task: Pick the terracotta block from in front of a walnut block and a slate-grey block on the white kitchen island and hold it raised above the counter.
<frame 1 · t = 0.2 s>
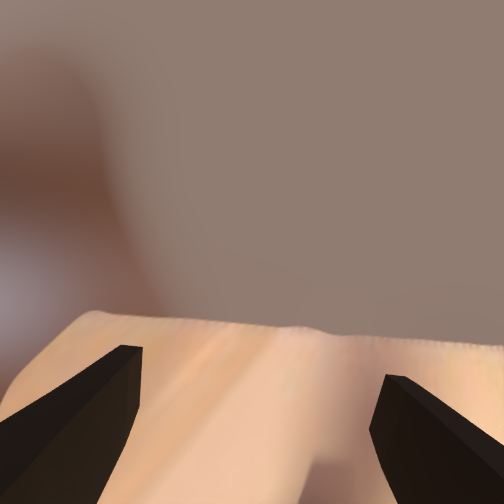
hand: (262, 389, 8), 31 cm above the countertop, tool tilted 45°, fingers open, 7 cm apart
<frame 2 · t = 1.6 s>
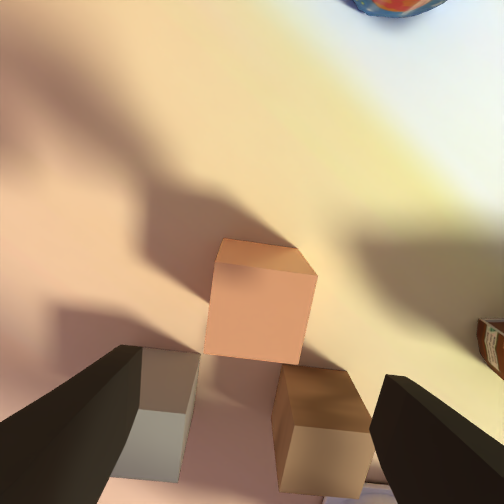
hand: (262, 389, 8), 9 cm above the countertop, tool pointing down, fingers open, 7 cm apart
walnut block: (308, 394, 20), on the countertop
slate block: (164, 378, 19), on the countertop
terracotta block: (255, 278, 18), on the countertop
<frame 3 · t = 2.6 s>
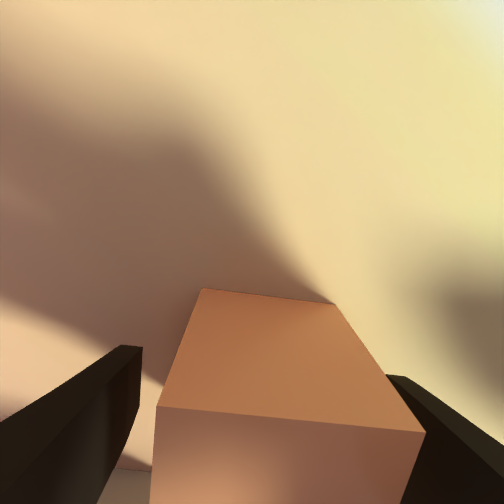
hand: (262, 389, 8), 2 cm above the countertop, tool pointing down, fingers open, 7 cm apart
terracotta block: (259, 354, 10), on the countertop
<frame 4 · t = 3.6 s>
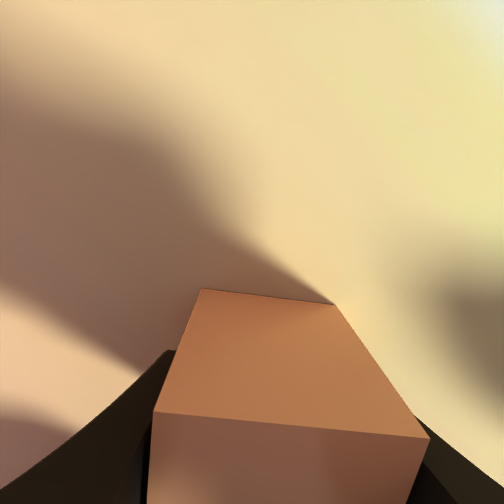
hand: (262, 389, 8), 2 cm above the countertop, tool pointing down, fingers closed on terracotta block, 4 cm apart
terracotta block: (259, 356, 10), on the countertop, touching gripper
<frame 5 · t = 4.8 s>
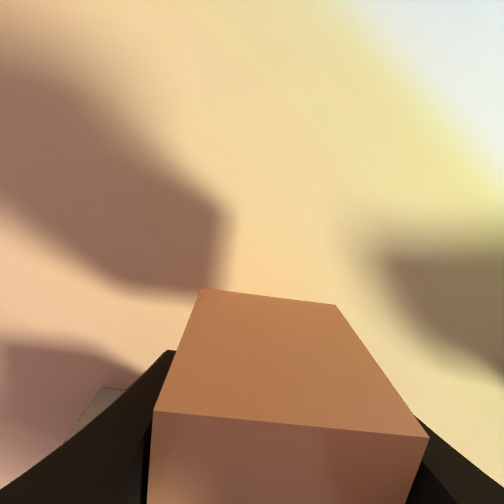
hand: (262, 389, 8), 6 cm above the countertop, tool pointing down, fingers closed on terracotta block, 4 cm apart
slate block: (143, 425, 16), on the countertop
terracotta block: (259, 355, 10), point 4 cm above the countertop, touching gripper
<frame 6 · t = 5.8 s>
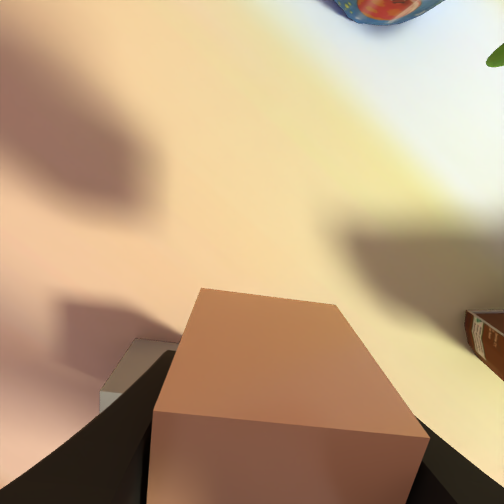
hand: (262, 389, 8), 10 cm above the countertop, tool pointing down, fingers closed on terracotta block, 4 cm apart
slate block: (166, 369, 20), on the countertop
terracotta block: (259, 355, 10), point 9 cm above the countertop, touching gripper
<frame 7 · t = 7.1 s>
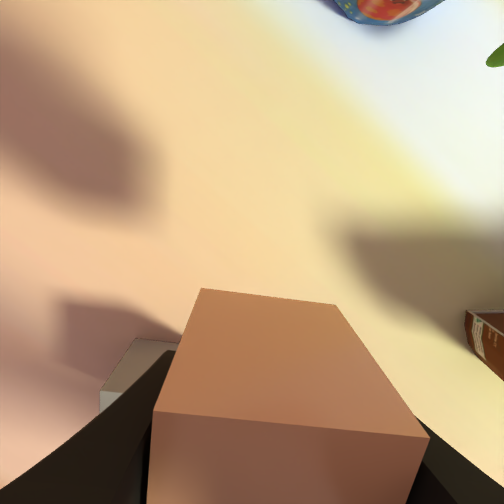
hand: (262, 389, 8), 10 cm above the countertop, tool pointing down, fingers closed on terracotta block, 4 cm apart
slate block: (166, 369, 20), on the countertop
terracotta block: (259, 355, 10), point 9 cm above the countertop, touching gripper
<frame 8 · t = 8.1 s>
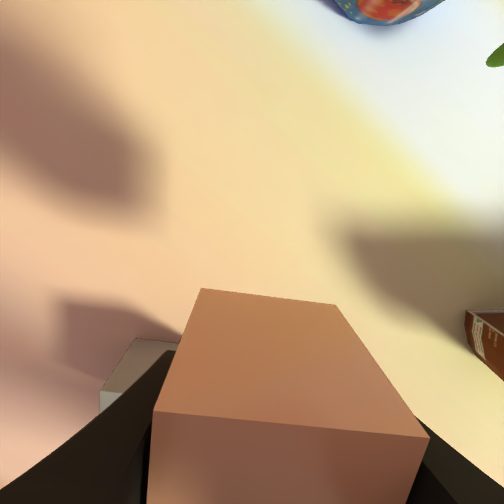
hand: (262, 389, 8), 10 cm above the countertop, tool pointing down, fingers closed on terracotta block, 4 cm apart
slate block: (166, 369, 20), on the countertop
terracotta block: (259, 355, 10), point 9 cm above the countertop, touching gripper
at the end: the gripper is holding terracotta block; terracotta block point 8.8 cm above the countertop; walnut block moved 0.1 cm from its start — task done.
